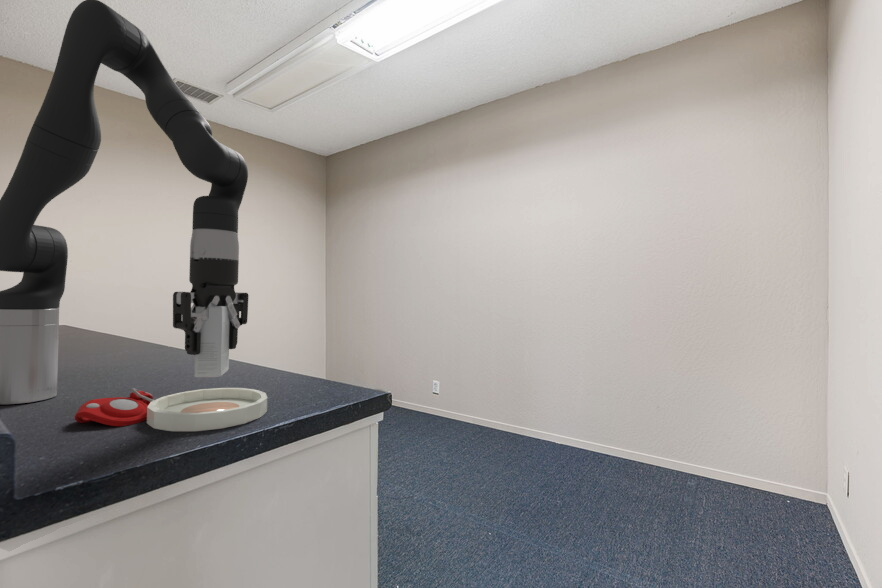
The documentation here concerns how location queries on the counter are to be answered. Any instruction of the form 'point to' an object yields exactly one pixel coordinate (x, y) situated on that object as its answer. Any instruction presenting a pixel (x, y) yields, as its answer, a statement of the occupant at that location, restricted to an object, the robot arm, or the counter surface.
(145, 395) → the tracker holder
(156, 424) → the round dish
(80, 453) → the counter surface
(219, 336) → the skincare box
